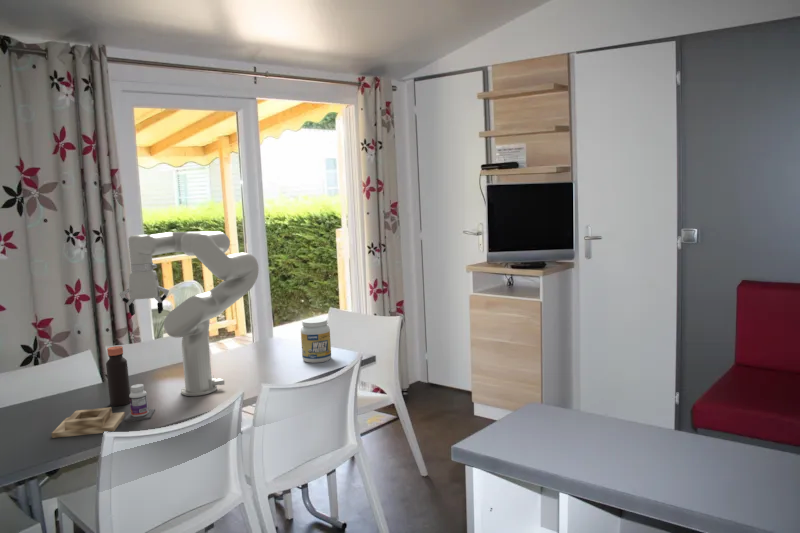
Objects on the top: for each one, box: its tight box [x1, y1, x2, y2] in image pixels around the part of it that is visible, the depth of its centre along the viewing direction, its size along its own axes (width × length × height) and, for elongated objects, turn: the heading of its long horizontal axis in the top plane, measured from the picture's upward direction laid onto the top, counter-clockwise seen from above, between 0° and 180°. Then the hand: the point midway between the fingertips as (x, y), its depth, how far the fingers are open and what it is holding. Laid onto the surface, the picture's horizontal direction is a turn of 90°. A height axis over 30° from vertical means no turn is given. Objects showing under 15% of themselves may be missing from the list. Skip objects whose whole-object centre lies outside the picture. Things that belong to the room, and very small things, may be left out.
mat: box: [123, 408, 156, 422], centre depth 219 cm, size 8×8×1 cm
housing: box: [51, 406, 126, 439], centre depth 211 cm, size 18×14×4 cm
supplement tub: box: [300, 317, 332, 364], centre depth 278 cm, size 12×12×17 cm
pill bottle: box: [129, 383, 149, 417], centre depth 218 cm, size 5×5×10 cm
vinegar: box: [105, 345, 131, 407], centre depth 232 cm, size 7×7×20 cm
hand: (146, 313), depth 246 cm, fingers open, 9 cm apart
